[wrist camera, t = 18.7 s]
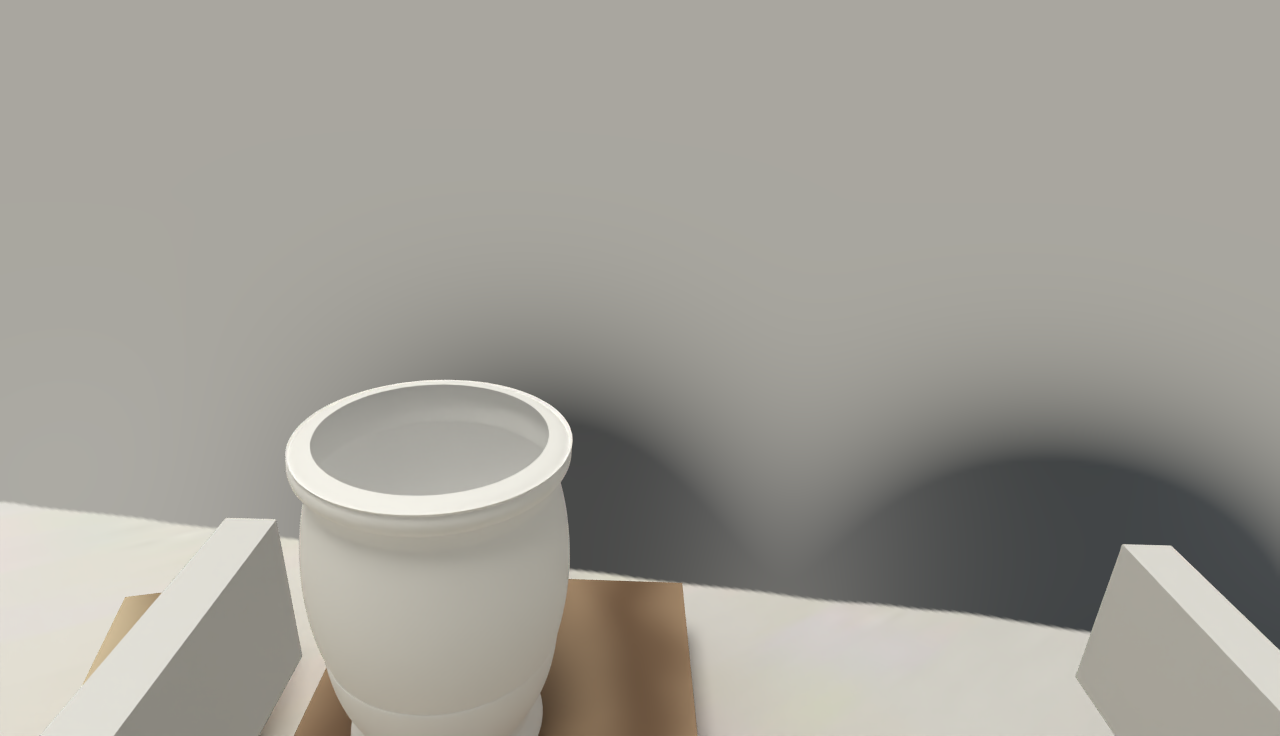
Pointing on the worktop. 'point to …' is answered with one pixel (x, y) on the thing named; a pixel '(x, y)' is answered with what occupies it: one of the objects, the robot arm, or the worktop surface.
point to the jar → (434, 554)
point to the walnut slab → (594, 667)
